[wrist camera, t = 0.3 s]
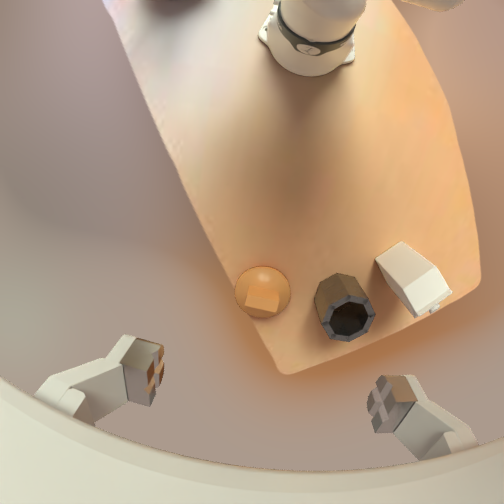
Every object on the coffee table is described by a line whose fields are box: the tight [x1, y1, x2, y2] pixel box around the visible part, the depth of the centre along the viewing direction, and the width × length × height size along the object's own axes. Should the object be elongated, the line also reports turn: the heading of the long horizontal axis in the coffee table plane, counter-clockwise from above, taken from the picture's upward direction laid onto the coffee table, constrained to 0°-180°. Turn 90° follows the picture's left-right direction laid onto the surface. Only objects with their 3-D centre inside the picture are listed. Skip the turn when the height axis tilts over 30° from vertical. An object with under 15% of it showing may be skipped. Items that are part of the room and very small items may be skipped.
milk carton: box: [375, 241, 453, 318], centre depth 47 cm, size 7×7×19 cm
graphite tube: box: [314, 273, 375, 342], centre depth 55 cm, size 10×10×10 cm
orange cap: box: [235, 266, 290, 318], centre depth 56 cm, size 11×11×7 cm
